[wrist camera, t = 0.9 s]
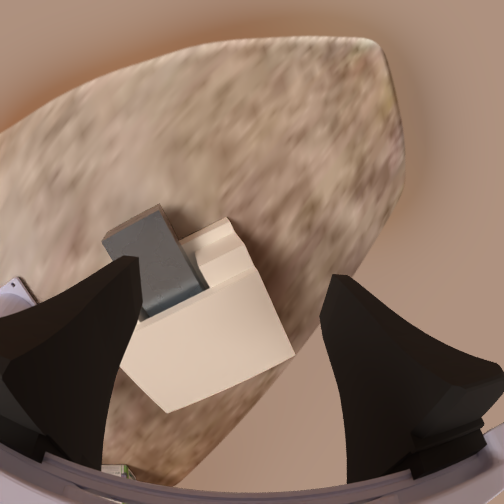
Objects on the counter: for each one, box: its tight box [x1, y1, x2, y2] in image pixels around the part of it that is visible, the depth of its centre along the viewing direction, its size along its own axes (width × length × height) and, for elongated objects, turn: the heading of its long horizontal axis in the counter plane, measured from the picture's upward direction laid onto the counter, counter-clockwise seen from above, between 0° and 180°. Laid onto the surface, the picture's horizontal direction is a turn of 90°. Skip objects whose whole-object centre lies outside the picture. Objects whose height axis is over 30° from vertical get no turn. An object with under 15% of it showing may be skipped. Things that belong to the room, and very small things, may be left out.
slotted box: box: [120, 217, 295, 413], centre depth 25 cm, size 13×14×6 cm
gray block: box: [102, 203, 206, 317], centre depth 23 cm, size 5×12×2 cm, turn 22°
